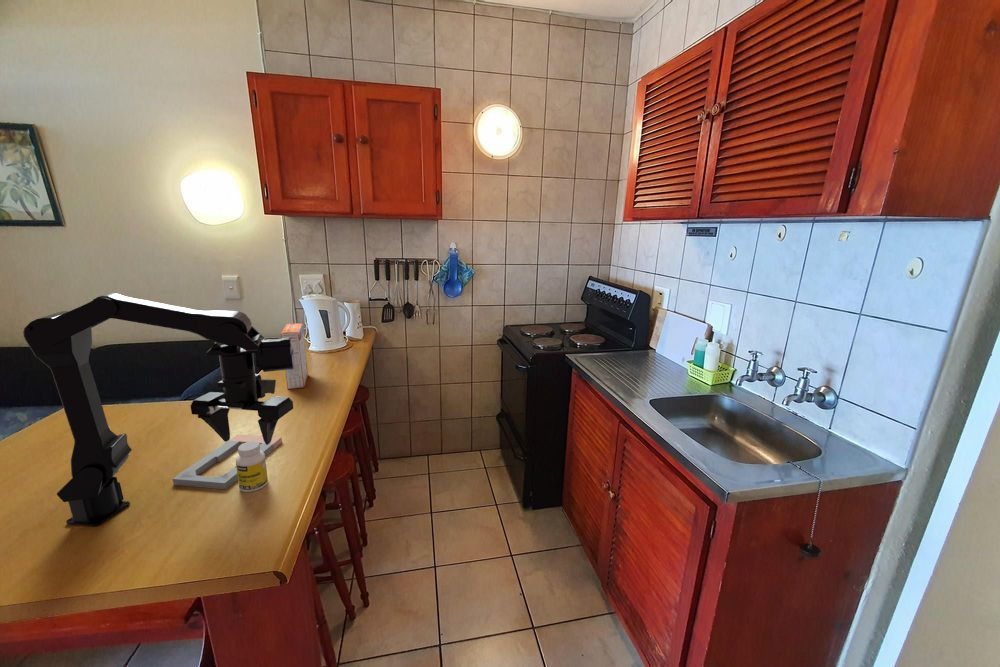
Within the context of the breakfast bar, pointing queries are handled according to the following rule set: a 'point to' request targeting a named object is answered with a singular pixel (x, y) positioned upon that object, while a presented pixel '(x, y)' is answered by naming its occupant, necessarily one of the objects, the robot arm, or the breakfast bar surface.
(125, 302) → the robot arm
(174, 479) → the keyhole board
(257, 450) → the supplement bottle
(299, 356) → the cracker box
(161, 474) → the breakfast bar surface
